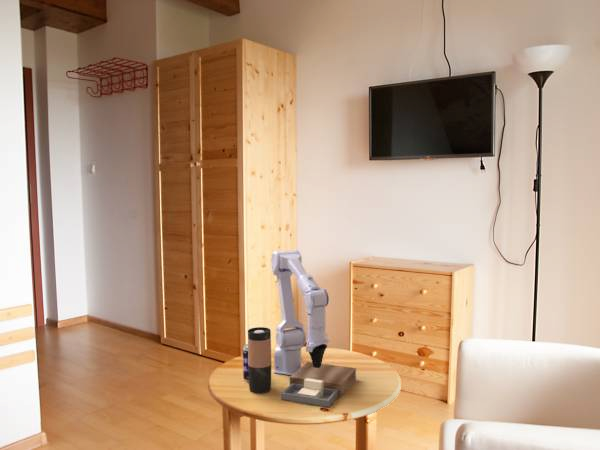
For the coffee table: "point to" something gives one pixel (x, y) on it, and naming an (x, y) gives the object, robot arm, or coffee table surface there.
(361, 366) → the coffee table surface
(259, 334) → the travel mug
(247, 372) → the beverage can
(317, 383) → the tile back
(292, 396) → the box
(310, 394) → the tile front
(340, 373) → the brown wooden block
